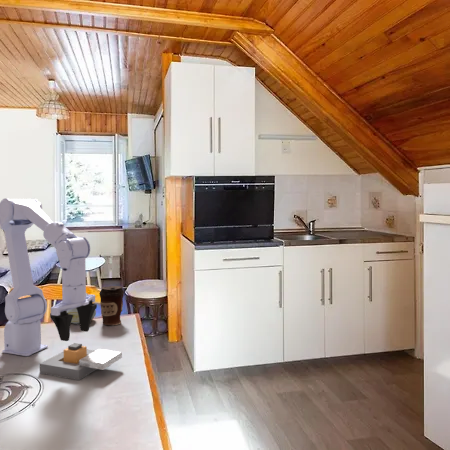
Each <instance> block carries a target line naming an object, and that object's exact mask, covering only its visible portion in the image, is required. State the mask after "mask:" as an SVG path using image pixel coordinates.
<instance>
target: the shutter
mask: <svg viewBox="0 0 450 450" xmlns="http://www.w3.org/2000/svg"><path fill="white" fill-rule="evenodd" d="M122 358H123V354H122V351H117V350H111V349H103V348H97V349H96V350H94V352H93V353H91V354H89V355H87V356H85V357H84V358H82V359H80V360H79V366H83V367H89V368H95V369H96V370H101V371H102V370H105V369H107V368H108V367H111V365H113V364H115V363H116V362H117V361H119V360H121V359H122Z"/></svg>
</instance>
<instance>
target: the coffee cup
mask: <svg viewBox="0 0 450 450" xmlns="http://www.w3.org/2000/svg"><path fill="white" fill-rule="evenodd" d="M124 295H125V290H124V289H123V286H120V285H110V286H103V287H101V288H100V291H99V298H100V303H99V304H100V313H101V317H102V325H104V326H117V325H120V324H122V320H121V314H122V312H123V308H124V307H123V306H124V300H123V298H124Z"/></svg>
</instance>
